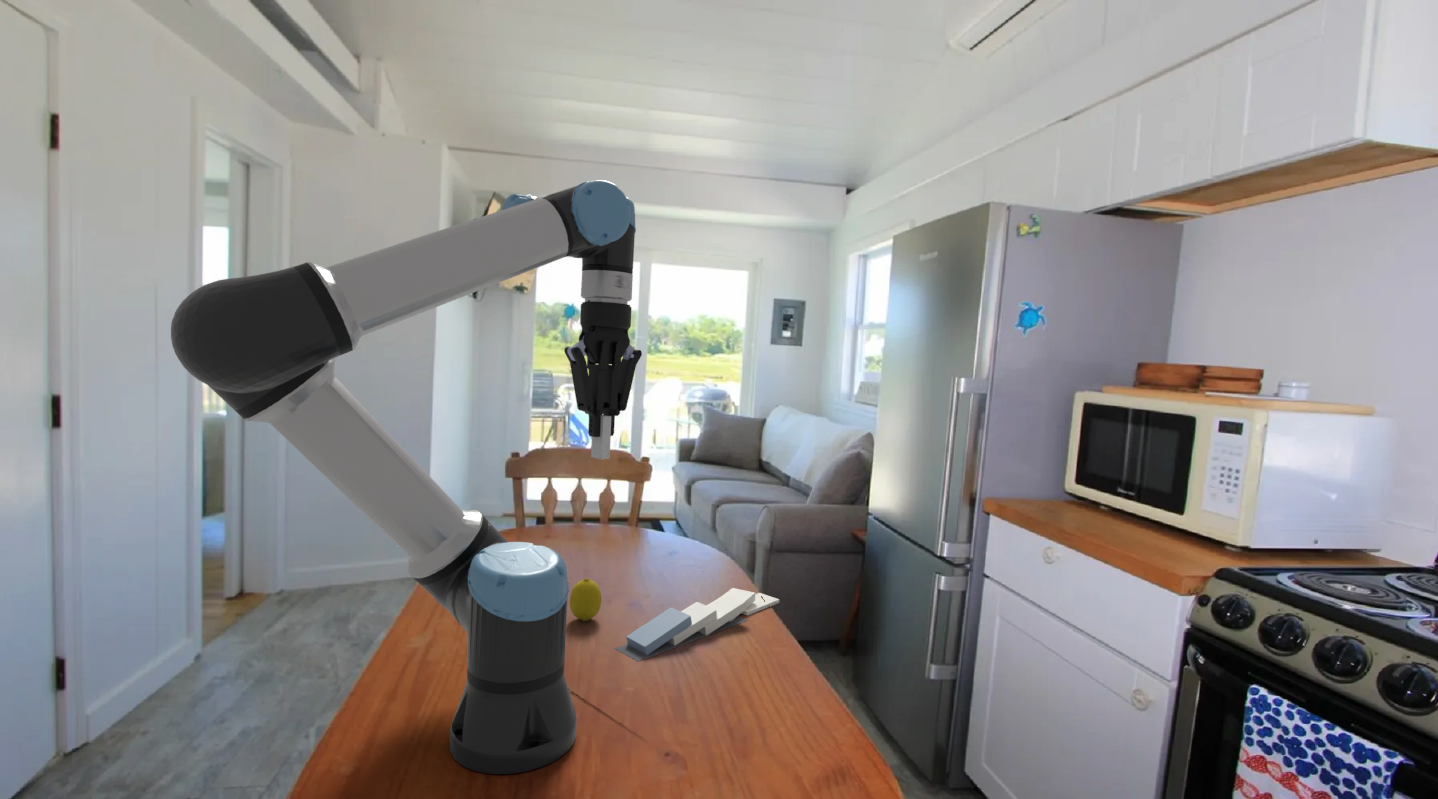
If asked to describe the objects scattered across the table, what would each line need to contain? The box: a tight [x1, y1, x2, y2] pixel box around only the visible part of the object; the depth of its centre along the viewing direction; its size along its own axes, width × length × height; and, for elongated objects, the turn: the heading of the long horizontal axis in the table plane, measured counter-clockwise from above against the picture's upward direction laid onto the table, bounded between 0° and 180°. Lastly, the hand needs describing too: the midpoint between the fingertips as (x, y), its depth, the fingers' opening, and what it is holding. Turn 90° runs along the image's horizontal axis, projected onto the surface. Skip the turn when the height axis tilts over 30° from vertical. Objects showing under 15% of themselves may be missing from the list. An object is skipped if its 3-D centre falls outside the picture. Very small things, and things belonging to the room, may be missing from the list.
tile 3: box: [698, 593, 746, 637], centre depth 125 cm, size 2×5×10 cm
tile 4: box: [724, 587, 756, 622], centre depth 132 cm, size 2×5×10 cm
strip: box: [614, 615, 748, 662], centre depth 120 cm, size 26×6×1 cm, turn 136°
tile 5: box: [741, 592, 780, 616], centre depth 135 cm, size 2×5×10 cm
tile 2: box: [667, 601, 717, 646], centre depth 120 cm, size 2×5×10 cm
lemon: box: [569, 577, 602, 622], centre depth 124 cm, size 6×6×8 cm
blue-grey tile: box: [625, 606, 692, 655], centre depth 116 cm, size 2×5×10 cm
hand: (600, 457), depth 106 cm, fingers closed
